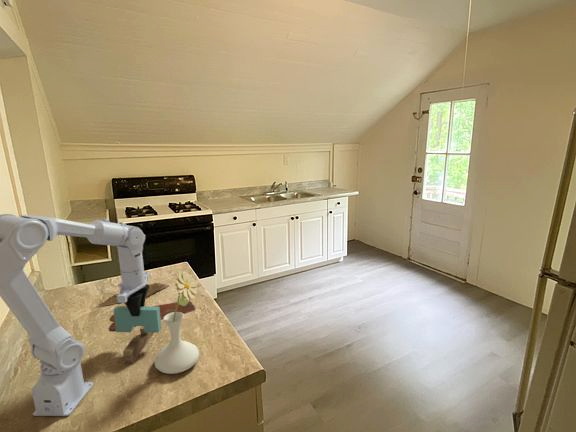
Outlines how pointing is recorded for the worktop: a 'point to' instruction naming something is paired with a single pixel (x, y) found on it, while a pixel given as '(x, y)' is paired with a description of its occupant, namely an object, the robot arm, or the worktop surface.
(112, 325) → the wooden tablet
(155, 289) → the wooden fragment
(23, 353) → the worktop surface
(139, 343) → the brown wooden bar
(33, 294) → the robot arm
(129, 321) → the teal arch block
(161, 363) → the flower in vase
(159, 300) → the worktop surface
